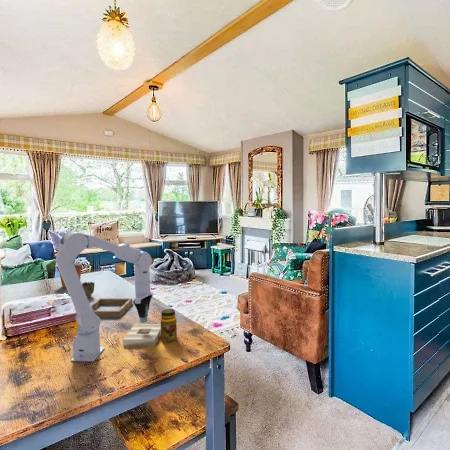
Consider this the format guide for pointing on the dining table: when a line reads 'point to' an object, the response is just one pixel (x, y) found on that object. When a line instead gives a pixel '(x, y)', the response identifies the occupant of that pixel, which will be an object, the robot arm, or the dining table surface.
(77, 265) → the potted plant
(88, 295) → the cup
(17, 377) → the dining table surface
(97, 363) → the dining table surface
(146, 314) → the peg
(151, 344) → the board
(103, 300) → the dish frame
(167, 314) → the condiment
